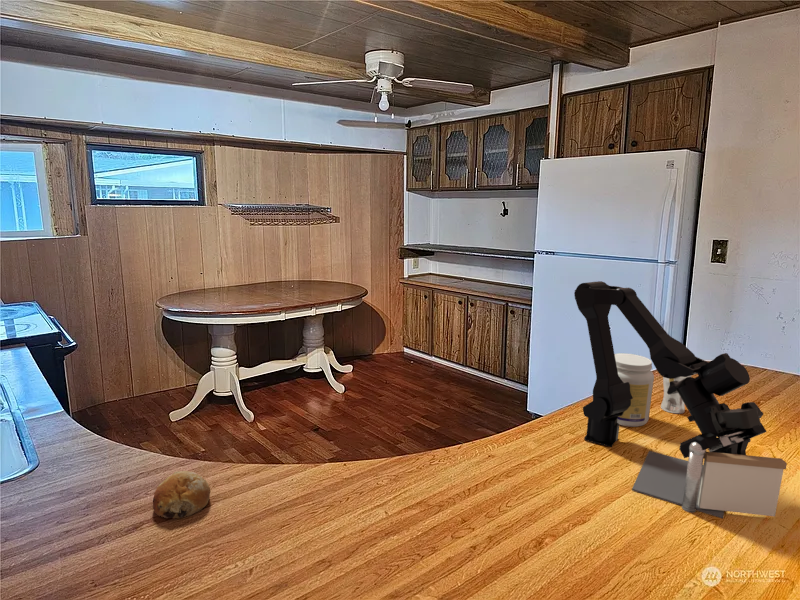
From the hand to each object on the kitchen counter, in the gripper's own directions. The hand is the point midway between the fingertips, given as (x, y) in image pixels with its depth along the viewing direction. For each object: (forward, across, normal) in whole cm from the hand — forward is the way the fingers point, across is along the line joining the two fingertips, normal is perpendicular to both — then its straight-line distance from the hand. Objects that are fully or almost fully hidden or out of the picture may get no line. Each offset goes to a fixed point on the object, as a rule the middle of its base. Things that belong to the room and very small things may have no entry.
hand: (748, 482), depth 99 cm
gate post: (+1, -9, +8) cm, 12 cm away
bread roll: (-26, -97, +37) cm, 107 cm away
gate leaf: (+4, -2, +4) cm, 6 cm away
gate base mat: (-4, -1, +13) cm, 14 cm away
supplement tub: (-24, +14, +34) cm, 43 cm away
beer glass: (-23, +32, +33) cm, 51 cm away
